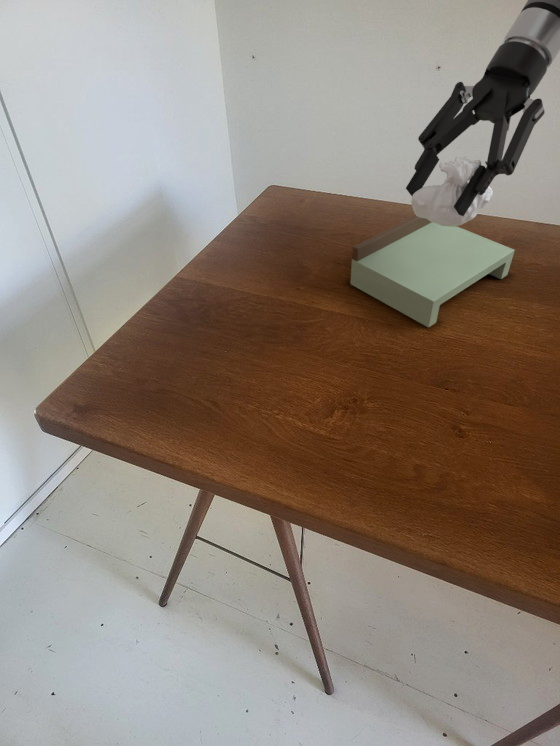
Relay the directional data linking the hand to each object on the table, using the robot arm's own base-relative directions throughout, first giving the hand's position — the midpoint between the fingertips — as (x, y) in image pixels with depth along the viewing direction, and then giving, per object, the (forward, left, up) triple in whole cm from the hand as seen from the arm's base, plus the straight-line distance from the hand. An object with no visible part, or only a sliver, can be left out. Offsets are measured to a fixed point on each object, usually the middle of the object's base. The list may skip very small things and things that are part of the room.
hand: (434, 201), depth 77 cm
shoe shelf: (+4, -4, -17) cm, 17 cm away
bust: (+1, -3, -4) cm, 5 cm away
